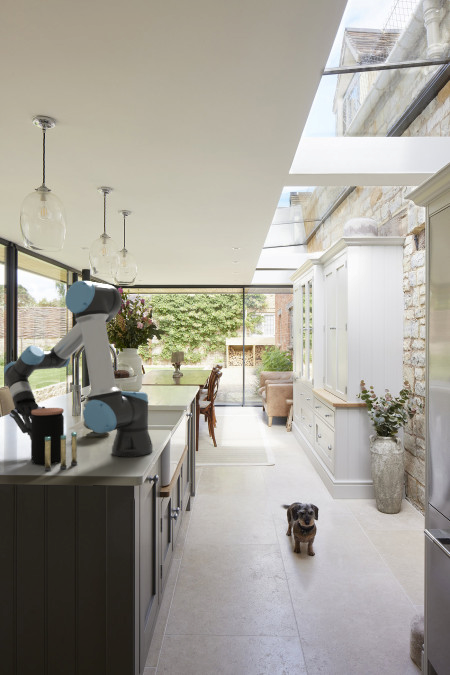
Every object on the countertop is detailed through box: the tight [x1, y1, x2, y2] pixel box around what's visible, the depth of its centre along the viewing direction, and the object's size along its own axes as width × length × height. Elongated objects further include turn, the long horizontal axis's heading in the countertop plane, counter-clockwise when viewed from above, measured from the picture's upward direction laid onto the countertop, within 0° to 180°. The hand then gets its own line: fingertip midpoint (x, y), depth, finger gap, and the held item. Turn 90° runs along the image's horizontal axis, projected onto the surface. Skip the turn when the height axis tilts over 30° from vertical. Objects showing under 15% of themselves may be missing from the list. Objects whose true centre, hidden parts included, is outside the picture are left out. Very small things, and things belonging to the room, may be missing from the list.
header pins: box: [44, 431, 78, 472], centre depth 145 cm, size 4×11×11 cm, turn 135°
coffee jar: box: [30, 407, 65, 466], centre depth 153 cm, size 11×11×18 cm
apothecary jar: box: [83, 396, 110, 439], centre depth 194 cm, size 12×12×18 cm
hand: (39, 446), depth 158 cm, fingers closed
